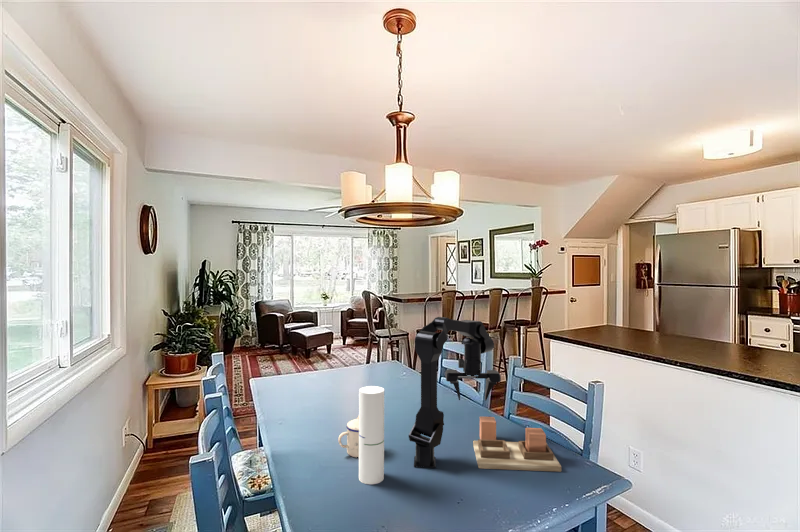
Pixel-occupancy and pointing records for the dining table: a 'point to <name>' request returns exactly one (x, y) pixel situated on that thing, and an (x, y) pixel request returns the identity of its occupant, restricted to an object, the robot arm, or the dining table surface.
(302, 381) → the dining table surface
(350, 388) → the dining table surface
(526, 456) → the socket board
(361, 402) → the cylindrical container
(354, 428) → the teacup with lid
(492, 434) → the loose block
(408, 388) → the dining table surface
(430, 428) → the robot arm
